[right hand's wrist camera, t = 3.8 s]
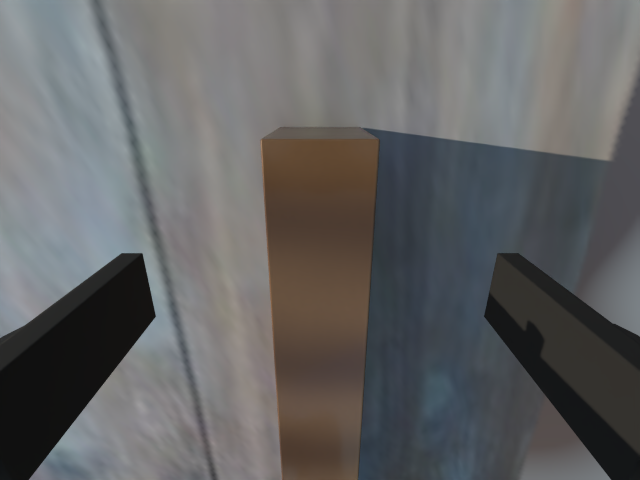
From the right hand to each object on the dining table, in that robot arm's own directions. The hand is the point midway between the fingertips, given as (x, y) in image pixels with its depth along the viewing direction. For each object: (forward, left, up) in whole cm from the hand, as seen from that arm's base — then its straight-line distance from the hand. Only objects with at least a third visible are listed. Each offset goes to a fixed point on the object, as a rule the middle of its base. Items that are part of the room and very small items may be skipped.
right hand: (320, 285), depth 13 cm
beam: (+13, +22, -12) cm, 28 cm away
